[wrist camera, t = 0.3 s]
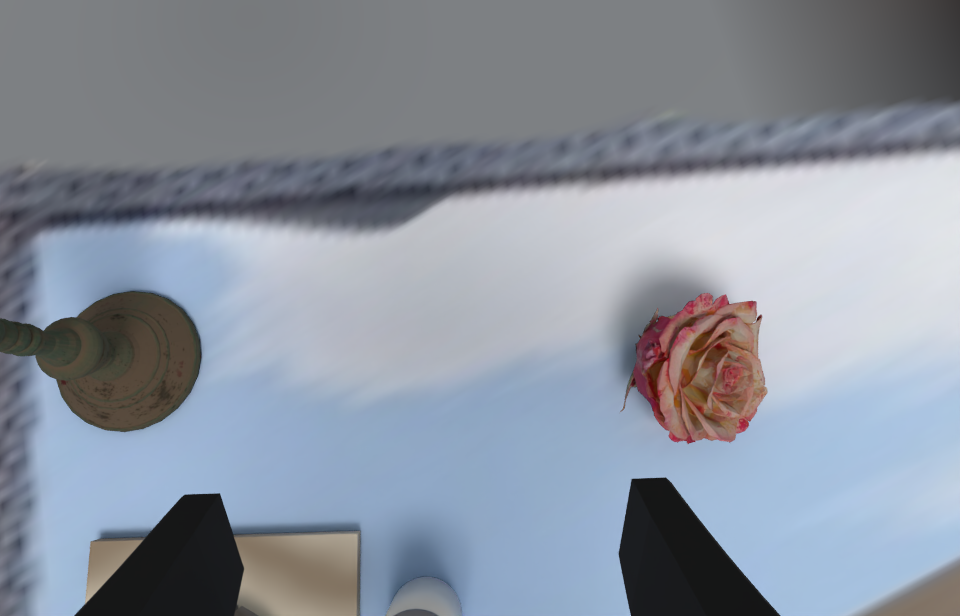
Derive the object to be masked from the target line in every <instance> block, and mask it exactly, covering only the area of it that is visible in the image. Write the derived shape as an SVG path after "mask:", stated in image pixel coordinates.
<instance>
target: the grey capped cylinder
mask: <svg viewBox="0 0 960 616" xmlns="http://www.w3.org/2000/svg"><path fill="white" fill-rule="evenodd" d="M386 616H462V609H461V604H460V601H459V599H458V596H457V594H456V593H455V591H454V590H453V589H452V588H451V587H450V586H449V585H448V584H447V583H445V582H444V581H442V580H440V579H437V578H434V577H419V578H415V579H413V580H411V581H409V582H407V583H406V584H404V585H403V586H402V587H401V588H400V589H399V590H398V592H397V593H396V595H395V596H394V598H393V601H392V603H391V605H390V607H389V609H388V611H387V614H386Z"/></svg>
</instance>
